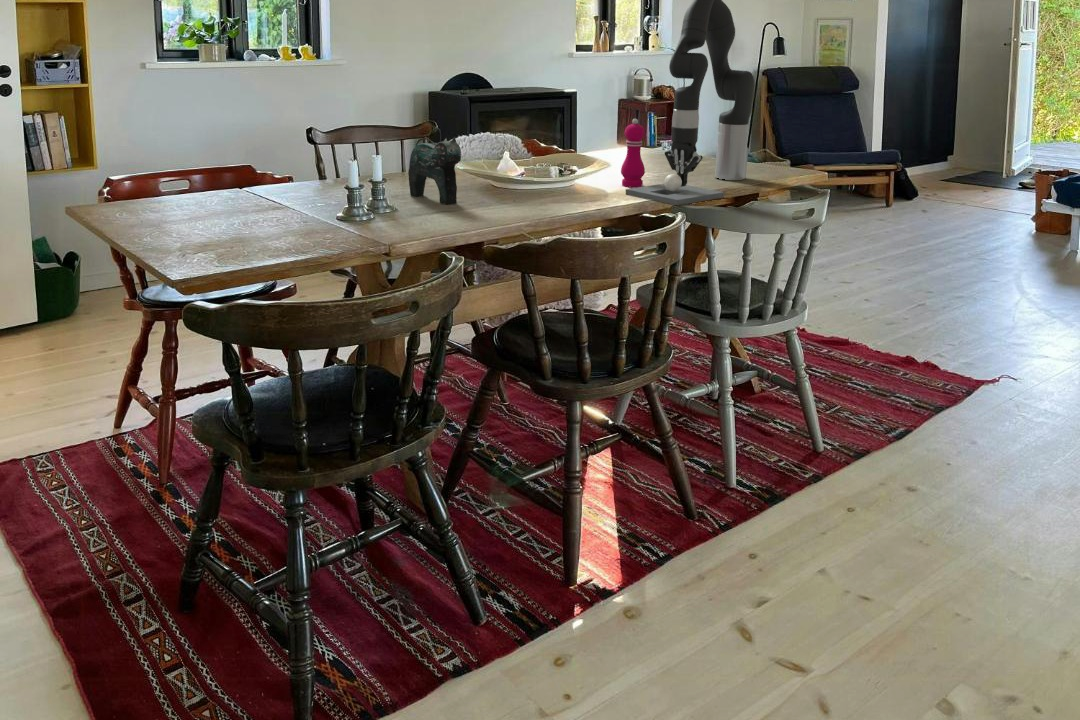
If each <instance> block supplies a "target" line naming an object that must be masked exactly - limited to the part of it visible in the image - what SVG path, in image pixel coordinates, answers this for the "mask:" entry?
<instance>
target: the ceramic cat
mask: <svg viewBox="0 0 1080 720" xmlns="http://www.w3.org/2000/svg"><path fill="white" fill-rule="evenodd" d="M436 130H437V131H438V132H439V137H440V138H439V142H434V141H432V140H431V139H430V138H428V137H422V138H420V139H418V141H417V142H416V143H415V145H414V147H413V149H412V150H411V153H410V157H409V163H408V164H409V165H408V166H409V167H408V171H407V173H408V184H409V185H408V186H409V193H410V196H412V197H415V198H418V197H423V196H424V193H425V188H426V181H427V178H428V179H432V180H433V181H434V182H435V185H436V186H437V189H438V194H439V195H438V196H439V203H440V205H441V204H442V205H446V206H448V205H449V206H450V205H456V204H457V202H458V201H457V199H458V197H457V190H458V186H457V173H456V170H455V165H456V164H459V163H460V162H461V158H462V151H461V147H460V145H459V144H458V143H457V138H456V137H455V136H454V137H453V138H452V139H451V140H447V138H445V139H444V140H443V141H442V133H441V129H440V128H439V127H435V128H434V130H433V131H432V132H433V133H435V131H436ZM425 140H427V141H429V142H425V143H424V142H423V143H420V142H421V141H425Z"/></svg>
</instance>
